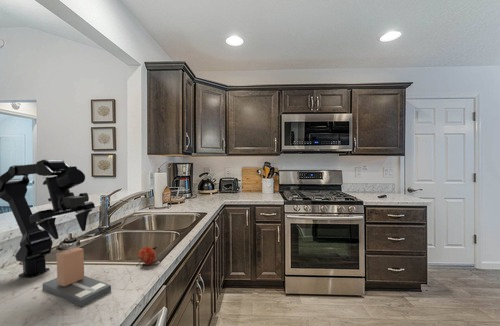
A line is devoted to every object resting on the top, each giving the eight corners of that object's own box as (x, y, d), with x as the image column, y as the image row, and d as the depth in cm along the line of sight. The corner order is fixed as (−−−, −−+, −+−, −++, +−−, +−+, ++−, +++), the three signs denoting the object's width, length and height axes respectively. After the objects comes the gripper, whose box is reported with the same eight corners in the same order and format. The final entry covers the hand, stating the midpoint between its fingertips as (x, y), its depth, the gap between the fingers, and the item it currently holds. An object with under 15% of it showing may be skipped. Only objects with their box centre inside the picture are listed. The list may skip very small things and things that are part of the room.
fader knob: (57, 283, 77) (56, 253, 77) (77, 275, 82) (76, 247, 82) (64, 286, 75) (63, 255, 75) (84, 277, 80) (83, 248, 80)
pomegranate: (140, 275, 91) (162, 256, 94) (127, 261, 91) (149, 242, 93) (143, 269, 99) (163, 251, 101) (131, 256, 98) (151, 239, 101)
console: (42, 289, 78) (42, 283, 78) (72, 277, 86) (72, 271, 86) (81, 307, 68) (80, 299, 68) (111, 291, 77) (110, 284, 77)
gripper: (44, 189, 73) (57, 237, 72) (99, 183, 91) (110, 222, 90) (22, 199, 77) (34, 246, 75) (79, 191, 94) (90, 229, 93)
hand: (71, 234), depth 83 cm, fingers open, 9 cm apart
